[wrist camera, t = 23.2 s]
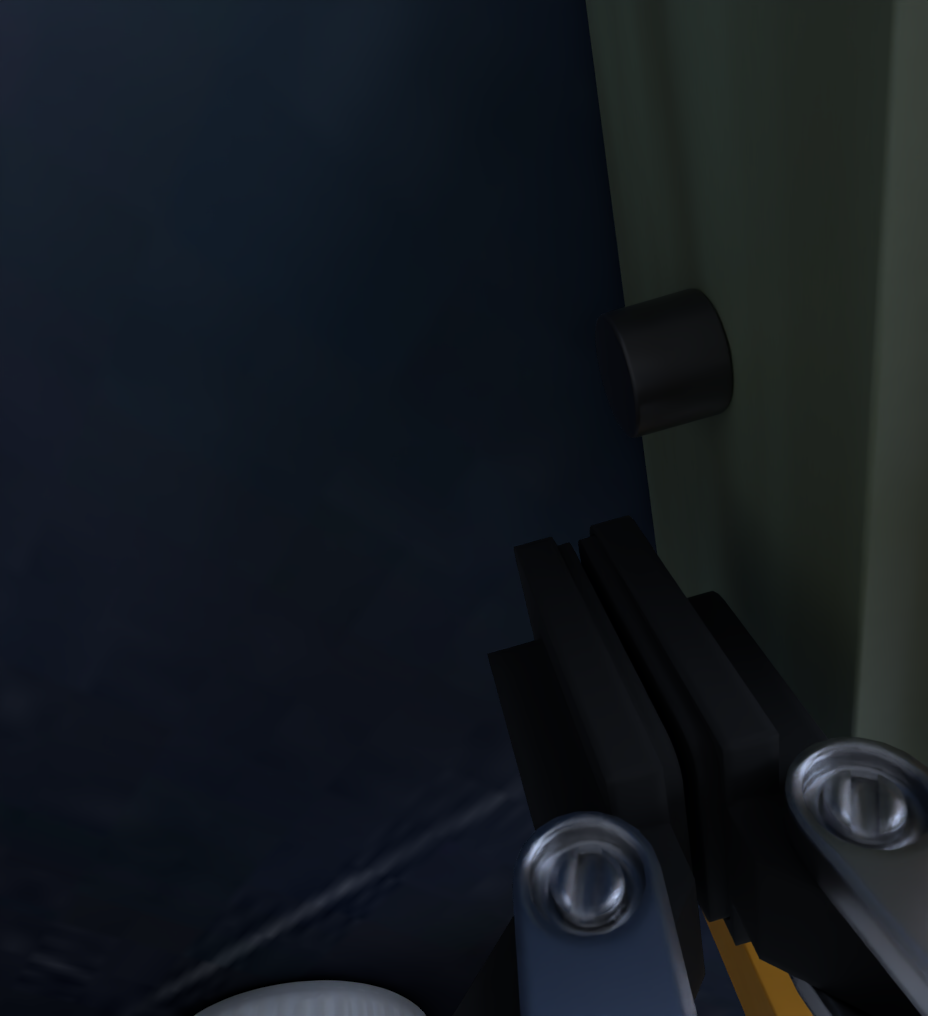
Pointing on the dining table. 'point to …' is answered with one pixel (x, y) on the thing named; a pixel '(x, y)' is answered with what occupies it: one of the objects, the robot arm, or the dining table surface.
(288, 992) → the ramekin
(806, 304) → the drawer
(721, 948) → the block
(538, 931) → the robot arm
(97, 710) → the dining table surface
